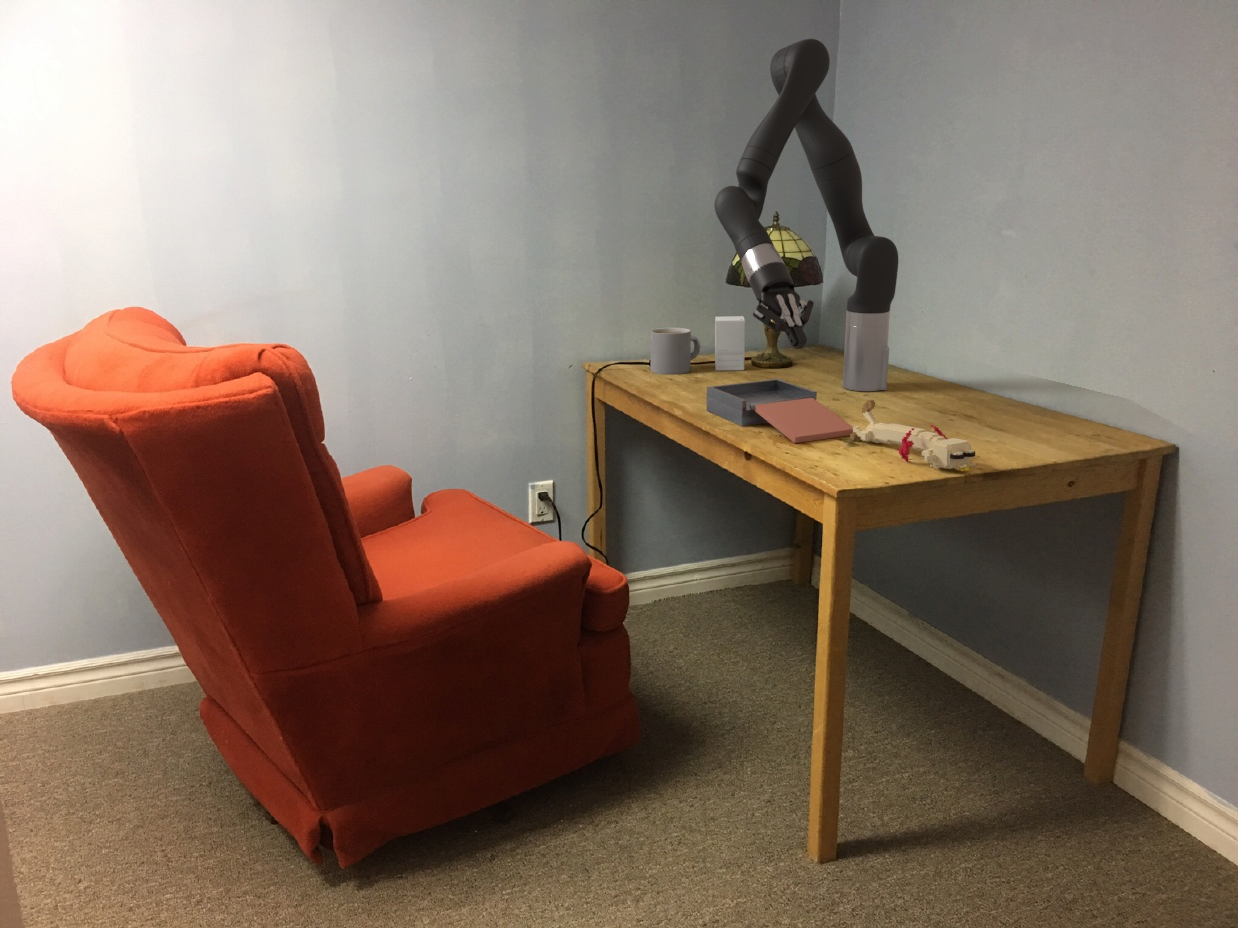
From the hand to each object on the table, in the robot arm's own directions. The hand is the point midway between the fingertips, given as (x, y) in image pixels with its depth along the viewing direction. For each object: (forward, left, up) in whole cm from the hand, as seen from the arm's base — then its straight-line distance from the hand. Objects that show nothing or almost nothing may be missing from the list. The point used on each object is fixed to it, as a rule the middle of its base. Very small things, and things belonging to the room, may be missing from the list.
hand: (801, 346), depth 170 cm
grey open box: (+7, -11, -16) cm, 20 cm away
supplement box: (+13, -59, -16) cm, 62 cm away
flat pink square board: (+3, -5, -12) cm, 13 cm away
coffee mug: (+26, -56, -16) cm, 63 cm away
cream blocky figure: (-18, +17, -16) cm, 30 cm away
